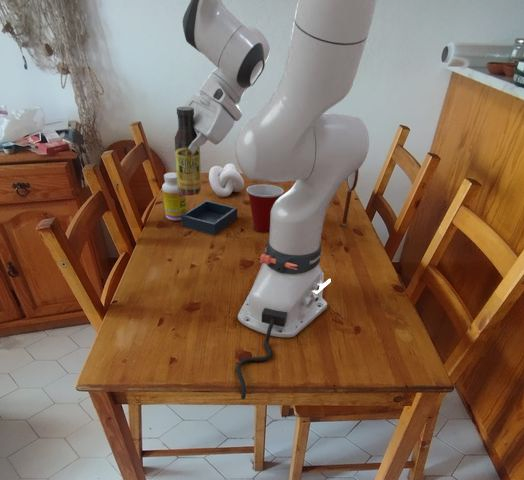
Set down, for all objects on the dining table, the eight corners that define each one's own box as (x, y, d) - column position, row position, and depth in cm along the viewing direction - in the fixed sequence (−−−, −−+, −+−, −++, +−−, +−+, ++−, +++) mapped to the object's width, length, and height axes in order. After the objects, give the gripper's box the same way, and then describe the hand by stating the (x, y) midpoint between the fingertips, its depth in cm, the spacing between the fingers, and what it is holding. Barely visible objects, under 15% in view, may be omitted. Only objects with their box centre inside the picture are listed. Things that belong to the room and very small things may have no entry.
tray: (214, 235, 122) (214, 224, 119) (182, 226, 125) (181, 215, 123) (237, 218, 131) (237, 207, 129) (206, 210, 135) (205, 200, 132)
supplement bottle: (183, 222, 127) (179, 180, 119) (162, 220, 128) (157, 178, 119) (189, 213, 132) (186, 172, 124) (169, 211, 133) (164, 170, 124)
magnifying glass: (349, 232, 126) (362, 163, 113) (343, 232, 126) (355, 163, 113) (343, 219, 133) (354, 153, 119) (338, 219, 132) (349, 153, 119)
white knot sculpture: (222, 202, 139) (221, 175, 133) (201, 192, 146) (199, 165, 140) (247, 194, 145) (248, 168, 139) (226, 184, 152) (225, 159, 146)
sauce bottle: (179, 197, 108) (170, 111, 95) (176, 188, 112) (167, 105, 99) (204, 195, 109) (198, 110, 96) (200, 187, 114) (194, 104, 101)
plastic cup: (282, 221, 130) (285, 182, 122) (280, 237, 122) (282, 197, 114) (248, 219, 131) (248, 180, 123) (243, 234, 123) (243, 194, 115)
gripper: (192, 80, 104) (160, 127, 107) (228, 96, 91) (190, 149, 94) (209, 99, 109) (178, 143, 112) (245, 117, 96) (209, 167, 99)
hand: (184, 146), depth 103 cm, fingers closed on sauce bottle, 6 cm apart
